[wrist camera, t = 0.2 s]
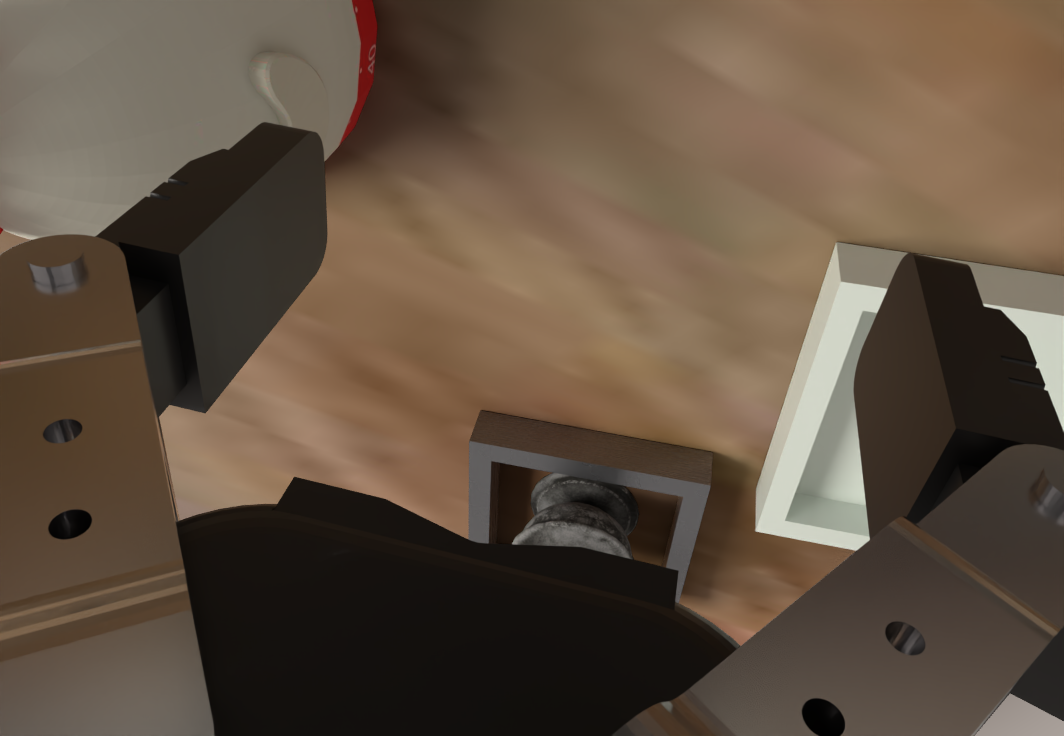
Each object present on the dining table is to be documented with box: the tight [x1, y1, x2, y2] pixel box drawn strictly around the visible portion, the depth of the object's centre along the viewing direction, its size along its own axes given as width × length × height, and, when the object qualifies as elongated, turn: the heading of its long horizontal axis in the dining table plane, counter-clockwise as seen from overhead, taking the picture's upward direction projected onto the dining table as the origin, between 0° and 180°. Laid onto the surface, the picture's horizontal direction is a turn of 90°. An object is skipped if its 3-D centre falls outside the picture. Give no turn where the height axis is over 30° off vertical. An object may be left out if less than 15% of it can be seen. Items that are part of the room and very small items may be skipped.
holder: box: [469, 411, 713, 603], centre depth 42 cm, size 10×10×2 cm
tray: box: [756, 242, 1064, 551], centre depth 33 cm, size 13×13×2 cm
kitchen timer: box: [0, 0, 377, 240], centre depth 25 cm, size 14×14×15 cm
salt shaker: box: [512, 473, 639, 560], centre depth 38 cm, size 6×6×12 cm
